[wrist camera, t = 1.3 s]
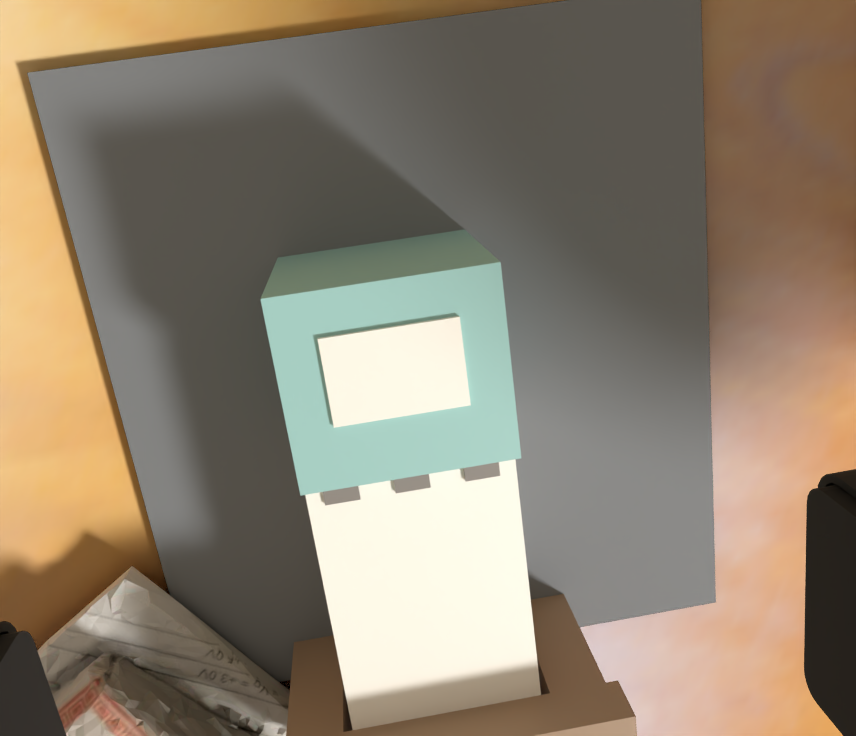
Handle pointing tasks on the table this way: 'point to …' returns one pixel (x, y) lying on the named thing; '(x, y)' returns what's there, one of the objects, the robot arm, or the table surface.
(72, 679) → the packaged product
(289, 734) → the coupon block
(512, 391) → the teal cube
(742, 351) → the table surface
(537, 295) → the mat
